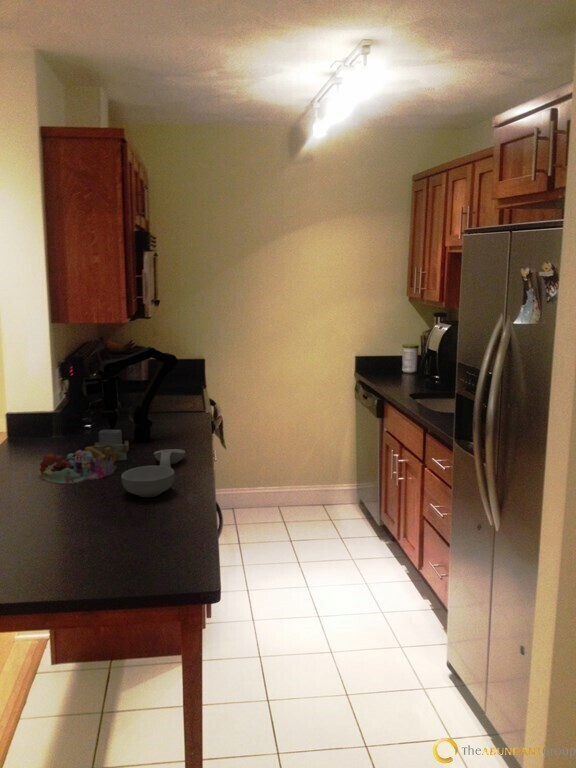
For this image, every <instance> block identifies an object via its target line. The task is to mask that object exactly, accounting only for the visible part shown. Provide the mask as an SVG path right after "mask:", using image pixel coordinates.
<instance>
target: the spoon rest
mask: <svg viewBox="0 0 576 768" xmlns="http://www.w3.org/2000/svg"><path fill="white" fill-rule="evenodd" d="M153 456H154V457H155V459H156V460H157V461H158V462H159V466H166V467H169V468H172V466H171V465H175V464H178V463H179V462H180V461H182V460H183V458H184V457H185V456H186V451H185V450H184V449H179V448H178V449H175V448H174V449H173V448H172V449H171V448H169V449H160V450H158V451H157V450H156V451H154V452H153Z"/></svg>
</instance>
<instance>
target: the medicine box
mask: <svg viewBox="0 0 576 768" xmlns="http://www.w3.org/2000/svg"><path fill="white" fill-rule="evenodd" d="M122 432H123V431H122V430H121V429H115V428H114V429H111V428H109V429H107V428H105V429H101V430H100V431H99V432H98V442H99V446H103V445H121V444H123V436H122Z"/></svg>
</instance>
